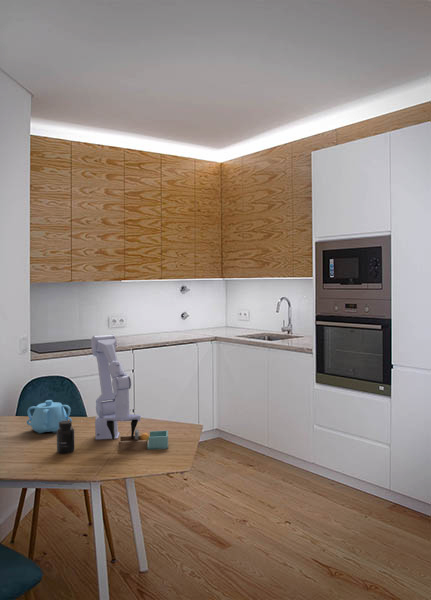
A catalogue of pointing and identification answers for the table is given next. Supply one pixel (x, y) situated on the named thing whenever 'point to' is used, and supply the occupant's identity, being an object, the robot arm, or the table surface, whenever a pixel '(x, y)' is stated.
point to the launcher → (131, 443)
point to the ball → (145, 436)
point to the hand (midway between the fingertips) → (123, 438)
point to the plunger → (137, 435)
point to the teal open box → (158, 440)
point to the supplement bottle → (65, 437)
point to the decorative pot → (48, 416)
